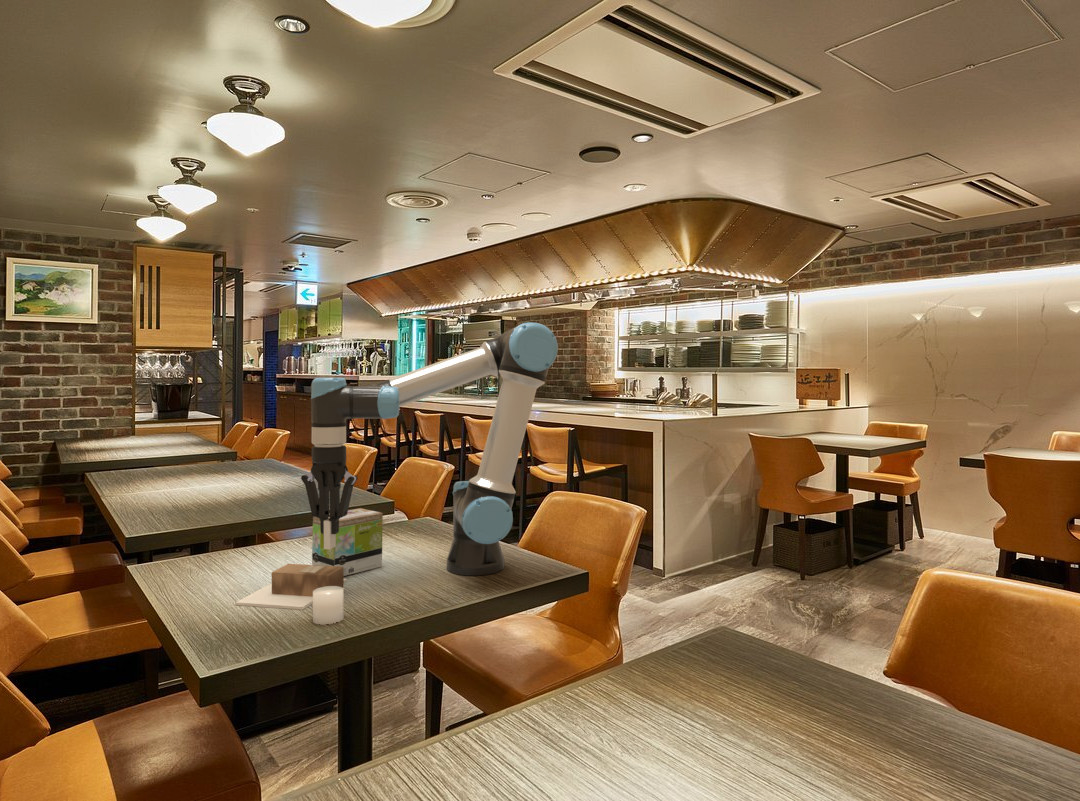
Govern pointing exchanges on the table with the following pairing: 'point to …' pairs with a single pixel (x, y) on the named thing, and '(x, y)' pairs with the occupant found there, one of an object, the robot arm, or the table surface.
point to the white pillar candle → (328, 605)
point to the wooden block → (305, 579)
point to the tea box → (351, 542)
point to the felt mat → (275, 600)
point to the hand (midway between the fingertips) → (329, 547)
